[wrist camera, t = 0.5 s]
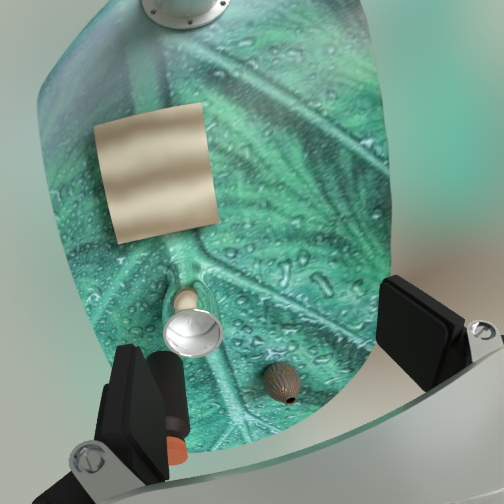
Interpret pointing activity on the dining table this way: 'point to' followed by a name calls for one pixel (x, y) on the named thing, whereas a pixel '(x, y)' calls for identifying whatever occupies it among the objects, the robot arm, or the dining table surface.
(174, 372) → the bottle
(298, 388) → the vase
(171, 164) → the plate
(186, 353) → the beer glass
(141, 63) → the dining table surface
